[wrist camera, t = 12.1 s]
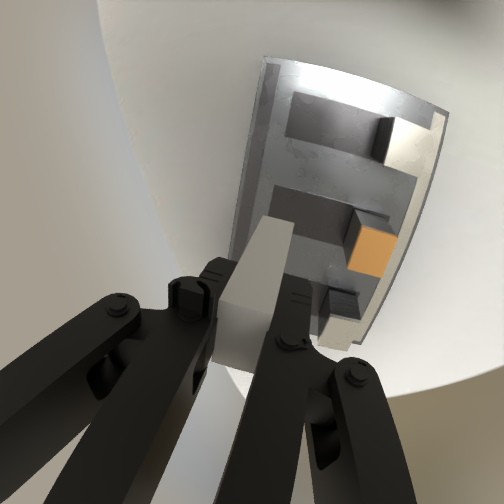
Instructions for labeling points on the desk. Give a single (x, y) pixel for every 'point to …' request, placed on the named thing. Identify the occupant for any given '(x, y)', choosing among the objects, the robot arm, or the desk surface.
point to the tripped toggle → (368, 244)
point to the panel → (335, 181)
